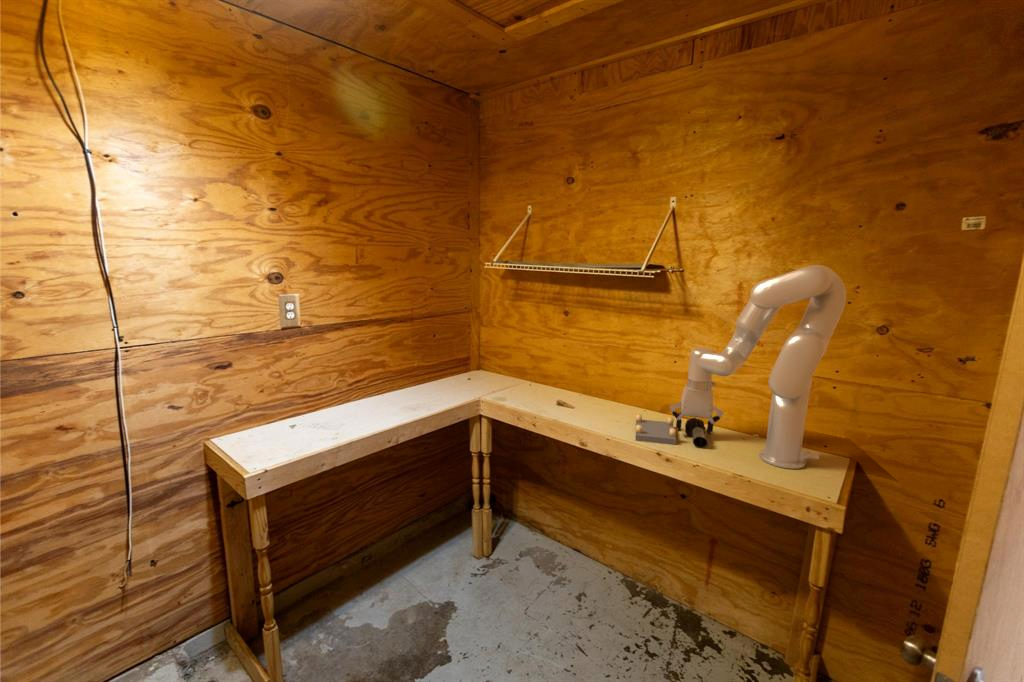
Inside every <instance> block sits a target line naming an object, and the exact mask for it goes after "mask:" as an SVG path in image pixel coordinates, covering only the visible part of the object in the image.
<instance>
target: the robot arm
mask: <svg viewBox="0 0 1024 682" xmlns="http://www.w3.org/2000/svg"><path fill="white" fill-rule="evenodd" d="M749 298H750V299H749V300H748V301H747V303H746V305H745V307H744V308H743V310H742V311H741V313H740V314H739V316H738V318H737V319H736V322H735V331H734V333H733V335H732V337H731V339H730V340H729V341H728V344H727V345H726V347H725V348H724V349H723V350H722V351H720V352H717V353H716V352H715V351H714V350H713V349H710V348H706V347H694V348H692V349H691V350H690V353H689V354H690V355H689V363H688V374H687V375H688V376H687V382H686V385H684V387H683V390H682V394H681V400H680V401H679V402H676V403H674V404H671V405H669V409H670V411H671V413H672V415H673V417H674V418H675V419H676V423H675V429H677V431H678V432H681V431H682V423H683V421H682V419H683V418H684V417H691V418H698V419H707V420H708V421H707V428H706V434H707V435H708V436H710V435H711V433H713V430H714V425H715V423H716V422H718V421H719V420H720V419H721V418H722V417H723V415H724V411H723V410H721V409H720V408H719V407H717V406H715V405H714V392H713V391H714V390H713V387H716V386H717V383H716V382H714V381H713V375H716V376H719V377H730V376H731V375H732V374H734V373H736V372H737V371H738V370H739V369H740V368H742V367H743V365H744V363H745V362H746V361H747V359H748V358H749V357H750V355H751V353H753V350H754V349H755V347H756V345H757V344H758V342H759V341H760V339H761V338H762V337H763V335H764V333H765V331H766V330H767V328H768V327H769V326H770V324H771V322H772V321H773V319H774V318H775V317H776V314H777V313H778V312H779V311H780V309H781V308H782V307H784V306H786V305H790V304H793V303H796V302H800V301H804V300H807V299H809V303H808V305H807V307H806V309H805V311H804V312H803V316H802V318H801V319H800V322H799V323H798V326H797V328H796V330H795V331H794V332H793V333H792V334H791V335H789V337H788V338H787V339H786V340H785V342H784V344H783V346H782V348H781V350H780V352H779V354H778V357H777V359H776V360H775V363H774V365H773V367H772V369H771V371H770V373H769V375H768V376H769V377H768V381H767V382H768V387H769V389H770V391H771V393H772V394H771V401H770V407H769V415H768V425H767V432H766V433H767V434H766V442H765V448H763V449H761V450H759V452H758V456H759V458H760V459H761V460H762V461H763V462H766V463H767V464H770V465H771V466H774V467H779V468H783V469H790V470H791V469H792V470H795V469H797V470H798V469H802V468H804V467H806V464H807V460H809V459H811V460H815V461H816V460H817V461H818V460H820V454H819V453H818V452H817V453H815V452H812V450H809V449H803V442H804V441H803V440H804V434H805V427H806V426H805V425H806V418H807V413H808V406H809V399H810V394H811V389H812V384H813V376H814V374H815V372H816V370H817V368H818V366H819V363H820V362H821V359H822V358H823V356H824V355H825V353H826V351H827V349H828V345H829V344H830V343H829V342H830V340H831V338H832V336H833V334H834V332H835V329H836V327H837V326H838V323H839V321H840V319H841V316H842V313H843V312H844V309H845V306H846V302H847V291H846V286H845V283H844V282H843V280H842V279H841V277H840V276H839V275H838V274H837V273H836V272H835V271H834V270H833V269H831V268H830V267H828V266H825V265H822V264H814V265H813V264H812V265H807V266H804V267H800V268H798V269H795V270H792V271H789V272H786V273H784V274H780V275H777V276H773V277H771V278H767V279H763V280H760V281H758V282H756V284H754V285H753V287H752V288H751V290H750V294H749ZM678 408H679V412H677V411H676V409H678ZM713 411H714V412H716V413H717V414H716V415H714V416H713Z"/></svg>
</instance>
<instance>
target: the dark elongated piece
mask: <svg viewBox="0 0 1024 682" xmlns="http://www.w3.org/2000/svg"><path fill="white" fill-rule="evenodd" d="M684 427H685V429H684V433H685V434H686V435H687V436H689V437H692V445H694V446H695V448H697V449H701V450H702V449H706V448H707V447H708V446H709V441H708V437H707V432H706V426H705V422H704V421H703V420H702V419H700V418H698V417H691V418H688V419H687V420H686V422H685V425H684Z"/></svg>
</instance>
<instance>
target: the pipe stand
mask: <svg viewBox="0 0 1024 682" xmlns="http://www.w3.org/2000/svg"><path fill="white" fill-rule="evenodd" d="M635 417H636V418H635V441H636V442H645V443H653V444H664V445H665V444H666V445H674V446H676V444H677V438H676V437H677V428H676V427H674V421H675V420H674V418H675V417H673V416H668V417H667V421H662V420H652V419H643V415H642V414H640V413H638V414H636V416H635Z"/></svg>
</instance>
